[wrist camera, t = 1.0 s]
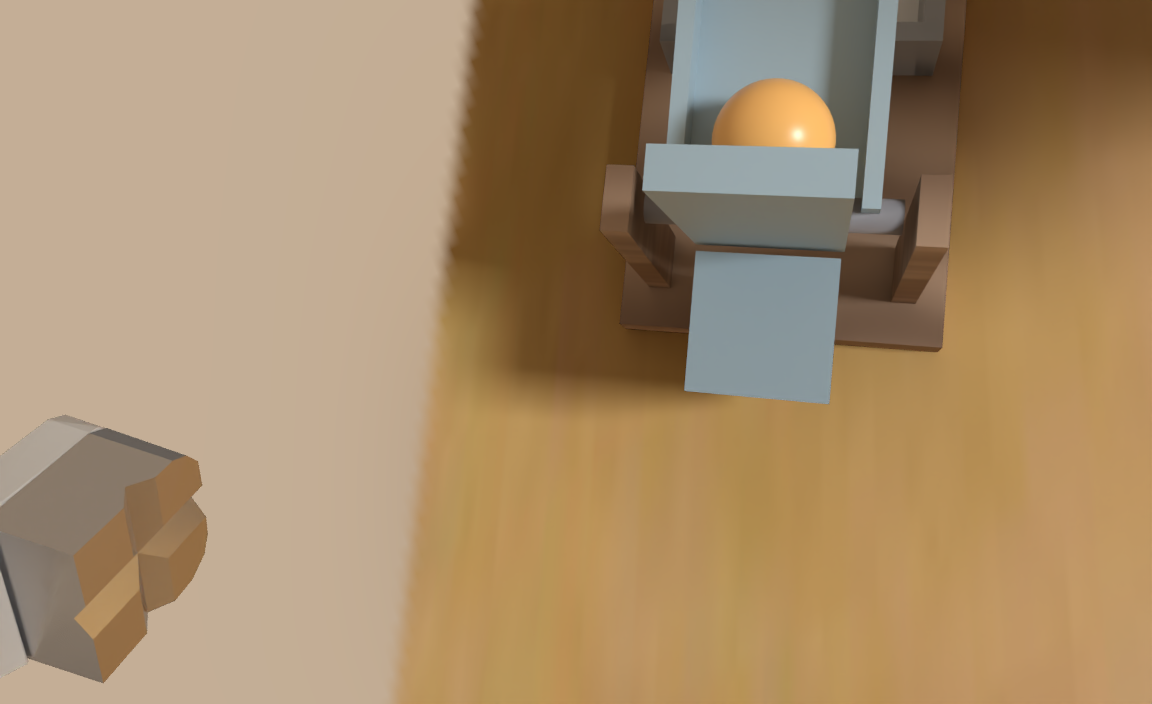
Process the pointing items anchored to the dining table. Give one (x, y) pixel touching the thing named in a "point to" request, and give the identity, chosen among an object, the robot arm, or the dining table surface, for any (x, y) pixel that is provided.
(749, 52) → the tipping lever
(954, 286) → the dining table surface
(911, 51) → the bin
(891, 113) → the walnut lever base
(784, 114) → the orange ball
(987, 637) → the dining table surface
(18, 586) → the robot arm
